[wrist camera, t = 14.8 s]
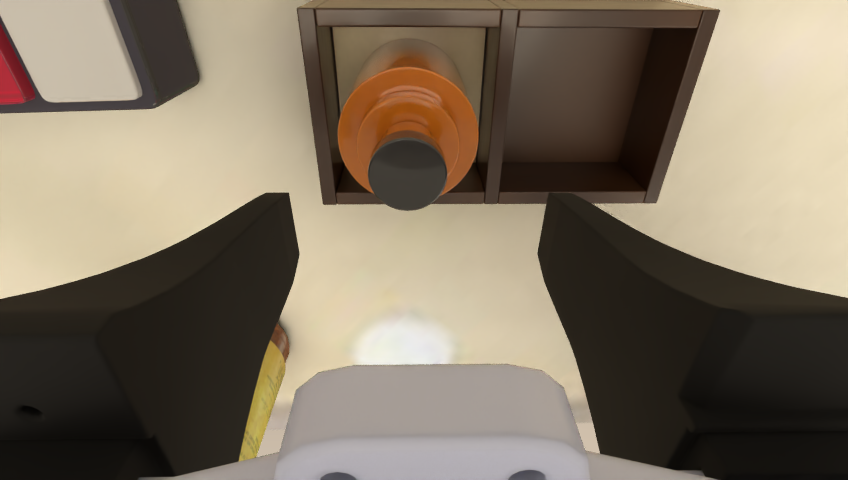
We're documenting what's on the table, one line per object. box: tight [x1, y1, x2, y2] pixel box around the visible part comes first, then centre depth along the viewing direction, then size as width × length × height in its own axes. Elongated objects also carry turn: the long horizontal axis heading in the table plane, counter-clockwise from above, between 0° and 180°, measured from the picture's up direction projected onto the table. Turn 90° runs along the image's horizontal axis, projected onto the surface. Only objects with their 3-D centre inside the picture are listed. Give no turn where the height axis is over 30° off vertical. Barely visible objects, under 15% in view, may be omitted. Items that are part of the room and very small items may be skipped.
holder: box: [297, 0, 720, 205], centre depth 19 cm, size 15×8×4 cm, turn 90°
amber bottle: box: [338, 38, 479, 211], centre depth 16 cm, size 5×5×8 cm
